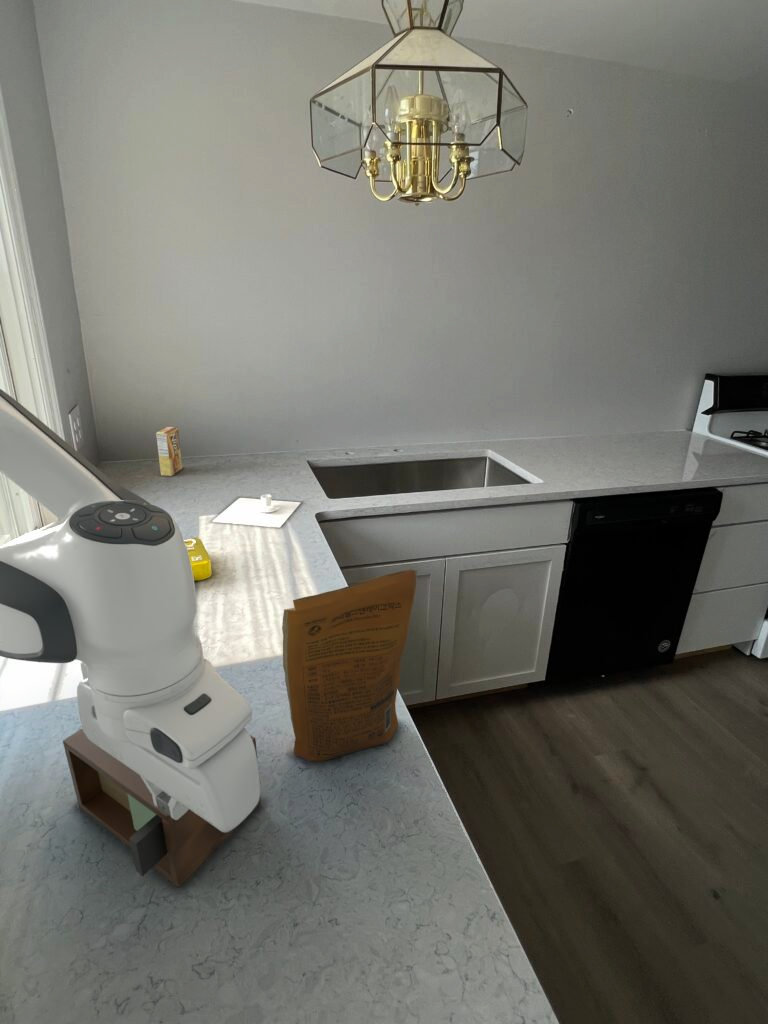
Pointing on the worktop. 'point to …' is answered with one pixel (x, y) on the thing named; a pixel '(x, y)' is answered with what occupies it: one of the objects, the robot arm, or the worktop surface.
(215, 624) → the worktop surface
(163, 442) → the candy box
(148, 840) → the sliding door
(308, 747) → the pancake mix bag
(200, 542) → the yellow box
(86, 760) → the brown wooden box
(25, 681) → the worktop surface
